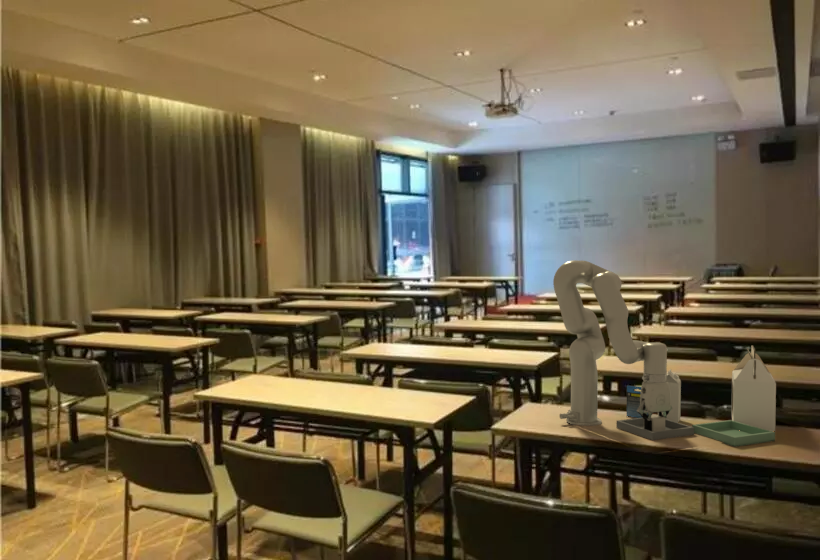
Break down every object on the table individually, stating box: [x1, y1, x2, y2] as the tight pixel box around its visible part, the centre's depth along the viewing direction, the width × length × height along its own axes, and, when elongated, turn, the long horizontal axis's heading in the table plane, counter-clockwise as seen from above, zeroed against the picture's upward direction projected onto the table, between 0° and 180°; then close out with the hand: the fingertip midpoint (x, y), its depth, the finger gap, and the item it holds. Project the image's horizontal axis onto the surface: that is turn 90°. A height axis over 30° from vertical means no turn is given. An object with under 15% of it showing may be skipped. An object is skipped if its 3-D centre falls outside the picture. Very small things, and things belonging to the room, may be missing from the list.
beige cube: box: [651, 414, 665, 432], centre depth 235 cm, size 5×5×5 cm
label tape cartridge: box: [626, 384, 648, 418], centre depth 256 cm, size 9×4×12 cm, turn 51°
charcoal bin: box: [615, 417, 695, 441], centre depth 235 cm, size 18×18×3 cm
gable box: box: [731, 345, 777, 432], centre depth 247 cm, size 22×13×28 cm, turn 156°
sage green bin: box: [691, 419, 776, 448], centre depth 229 cm, size 18×18×3 cm
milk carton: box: [661, 368, 682, 423], centre depth 251 cm, size 7×7×19 cm
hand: (654, 429), depth 235 cm, fingers closed on beige cube, 5 cm apart
